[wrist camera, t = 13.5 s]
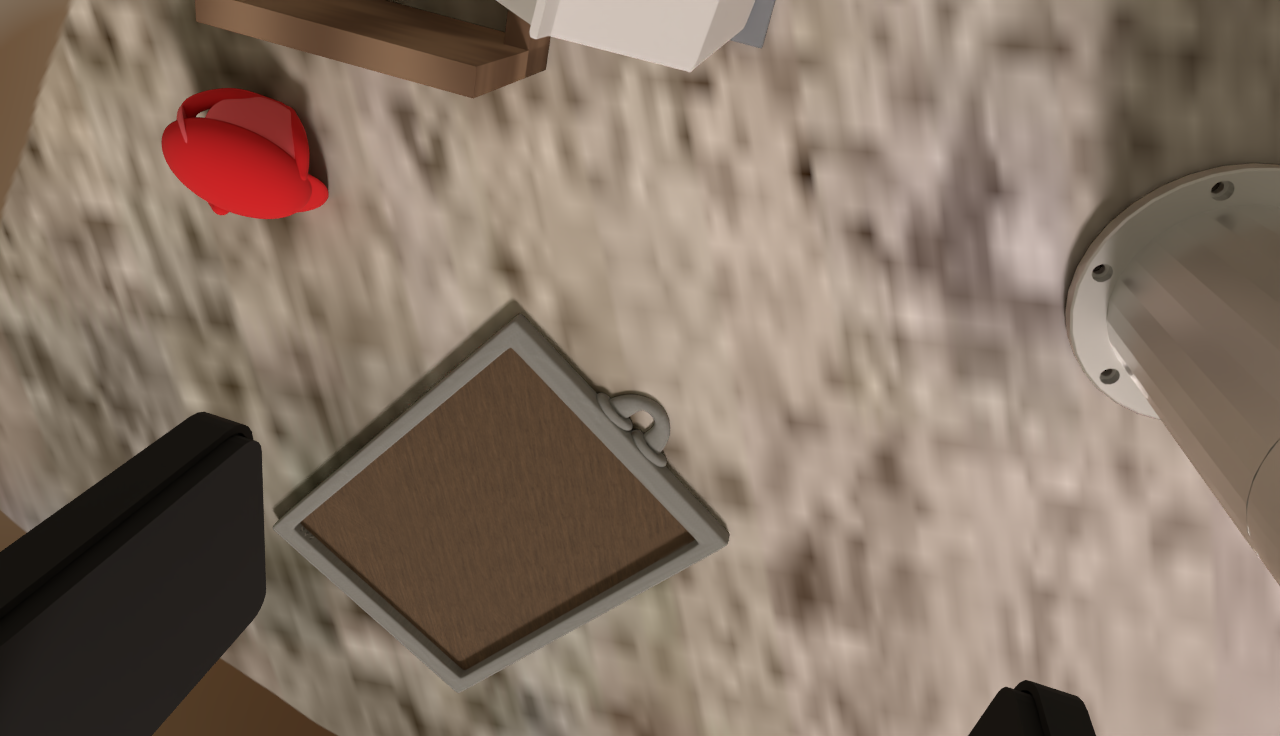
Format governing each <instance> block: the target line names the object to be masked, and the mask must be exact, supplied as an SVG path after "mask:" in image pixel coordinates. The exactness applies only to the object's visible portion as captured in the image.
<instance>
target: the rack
mask: <svg viewBox="0 0 1280 736" xmlns="http://www.w3.org/2000/svg"><path fill="white" fill-rule="evenodd" d="M195 9H196V22H200V23H203V24H207V25H211V26H214V27H218V28H222V29H225V30H229V31H232V32H236V33H240V34H243V35H247V36H250V37H254V38H258V39H261V40H265V41H268V42H272V43H276V44H279V45H283V46H286V47H290V48H294V49H297V50H301V51H304V52H308V53H312V54H315V55H319V56H322V57H326V58H330V59H333V60H337V61H340V62H344V63H348V64H351V65H355V66H358V67H362V68H366V69H369V70H373V71H376V72H380V73H384V74H387V75H391V76H395V77H398V78H402V79H405V80H409V81H413V82H416V83H420V84H423V85H427V86H431V87H434V88H438V89H441V90H445V91H449V92H452V93H456V94H459V95H463V96H467V97H470V98H475V97H478V96H480V95H483V94H486V93H488V92H491V91H493V90H496V89H498V88H501V87H503V86H506V85H508V84H511V83H513V82H516V81H518V80H521V79H524V78H526V77H529V76H531V75H534V74H536V73H539V72H541V71H544V70H546V64H547V57H548V50H549V44H550V37H551V36H546V37H543V38H539V39H534V38H531V37H530V32H529V31H530V27H531V25H530V24H529V23H527V22H526V21H525V20H523V19H522V18H520V17H519V16H517V15H516V14H515V13H513V12H512V11H510V10H509V9H508V13H507V21H506V29H505V32H502V31H498V30H494V29H491V28H487V27H483V26H480V25H476V24H472V23H468V22H465V21H461V20H457V19H454V18H450V17H446V16H442V15H439V14H435V13H431V12H428V11H424V10H420V9H416V8H413V7H409V6H405V5H402V4H398V3H394V2H390V1H387V0H195Z"/></svg>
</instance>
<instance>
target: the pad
mask: <svg viewBox="0 0 1280 736" xmlns="http://www.w3.org/2000/svg"><path fill="white" fill-rule="evenodd" d="M774 4H775V0H755V2H754V5H753V8H752V10H751V13H750V15H749V18H748V20H747V23H746V25H745V27H744V28H743V30H741V31H740V32H739V33H738V34H736V35H735V36H734V37H733V38H731V39H730V40H731V41H735V42H739V43H743V44H746V45H750V46H754V47H758V48H762V47H763V43H764V40H765V36H766V33H767V29H768V25H769V22H770V18H771V15H772V11H773V7H774Z"/></svg>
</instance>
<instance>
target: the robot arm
mask: <svg viewBox="0 0 1280 736" xmlns="http://www.w3.org/2000/svg"><path fill="white" fill-rule="evenodd" d="M1218 182H1220V185H1219V187H1218V188H1217V189H1216V190H1214V191H1211V189H1212V187H1213V186H1214V185H1215V184H1216V183H1218ZM1101 264H1103V265H1102V268H1101V269H1100V270H1098V271H1093V269H1094V268H1095V267H1096V266H1098V265H1101ZM1065 317H1066V328H1067V336H1068V339H1069V342H1070V345H1071V348H1072V351H1073V354H1074V356H1075V358H1076V359H1077V361H1078V363H1079V364H1080V366H1081V368H1082V370H1083V372H1084V373H1085V374H1086V376H1087V377H1088V378H1089V379H1090V381H1091V382H1092V383H1093V385H1094V386H1095V387H1096V388H1097V389H1098V390H1100V391H1101V392H1102V393H1104V394H1105V395H1106V396H1107V397H1109V398H1110V399H1111V400H1113V401H1114V402H1115V403H1117V404H1119V405H1121V406H1123V407H1125V408H1127V409H1129V410H1131V411H1133V412H1135V413H1137V414H1141V415H1144V416H1147V417H1151V418H1154V419H1158V420H1161V421H1162V422H1163V424H1164V425H1165V426H1166V428H1167V429H1168V431H1169V432H1170V433H1171V435H1172V436H1173V438H1174V439H1175V441H1176V442H1177V443H1178V445H1179V446H1180V448H1181V449H1182V450H1183V452H1184V453H1185V455H1186V456H1187V457H1188V459H1189V460H1190V462H1191V463H1192V464H1193V466H1194V467H1195V469H1196V470H1197V472H1198V473H1199V474H1200V476H1201V477H1202V479H1203V480H1204V481H1205V483H1206V484H1207V486H1208V487H1209V488H1210V490H1211V491H1212V493H1213V494H1214V495H1215V497H1216V498H1217V500H1218V501H1219V503H1220V504H1221V505H1222V507H1223V508H1224V510H1225V511H1226V512H1227V514H1228V515H1229V517H1230V518H1231V519H1232V521H1233V522H1234V524H1235V525H1236V526H1237V528H1238V529H1239V531H1240V532H1241V534H1242V535H1243V536H1244V538H1245V539H1246V541H1247V542H1248V543H1249V545H1250V546H1251V547H1252V549H1253V550H1254V552H1255V553H1256V554H1257V556H1258V557H1259V558H1260V559H1261V561H1262V562H1263V563H1264V565H1265V566H1266V568H1267V569H1268V570H1269V572H1270V573H1271V574H1272V576H1273V577H1274V579H1275V580H1276V581H1277V583H1278V584H1279V585H1280V165H1275V164H1260V163H1249V164H1239V165H1228V166H1220V167H1216V168H1212V169H1209V170H1205V171H1201V172H1197V173H1193V174H1189V175H1187V176H1185V177H1182V178H1180V179H1177V180H1175V181H1173V182H1170V183H1168V184H1166V185H1163V186H1161V187H1159V188H1157V189H1156V190H1154V191H1152V192H1151V193H1149V194H1147V195H1146V196H1144V197H1142V198H1141V199H1139V200H1138V201H1136V202H1134V203H1133V204H1131V205H1130V206H1129V207H1128V208H1127V209H1125V210H1124V211H1123V212H1122V213H1121V214H1119V215H1118V216H1117V217H1116V218H1115V219H1113V220H1112V221H1111V222H1110V223H1109V224H1108V225H1107V226H1106V227H1105V229H1104V230H1103V231H1102V232H1101V233H1100V234H1099V235H1098V237H1097V238H1096V239H1095V240H1094V241H1093V242H1092V244H1091V245H1090V246H1089V248H1088V250H1087V251H1086V253H1085V255H1084V256H1083V258H1082V260H1081V261H1080V263H1079V265H1078V266H1077V268H1076V271H1075V274H1074V277H1073V279H1072V282H1071V285H1070V288H1069V290H1068V297H1067V304H1066V311H1065ZM1106 369H1108V370H1107V371H1105V372H1103V371H1104V370H1106ZM265 595H266V573H265V541H264V509H263V478H262V450H261V445H260V444H259V442H257V441H254V440H253V436H252V431H251V430H250V428H249V427H248V426H246V425H243V424H240V423H237V422H234V421H231V420H228V419H225V418H222V417H219V416H216V415H213V414H210V413H206V412H199V413H196V414H194V415H192V416H190V417H189V418H187V419H186V420H185V421H183V422H182V423H180V424H179V425H178V426H176V427H175V428H173V429H172V430H171V431H169V432H168V433H166V434H165V435H164V436H162V437H161V438H159V439H158V440H157V441H155V442H154V443H152V444H151V445H150V446H148V447H147V448H145V449H144V450H143V451H141V452H140V453H138V454H137V455H136V456H134V457H133V458H131V459H130V460H129V461H127V462H126V463H124V464H123V465H122V466H120V467H119V468H117V469H116V470H115V471H113V472H112V473H110V474H109V475H108V476H106V477H105V478H103V479H102V480H101V481H99V482H98V483H96V484H95V485H94V486H92V487H91V488H89V489H88V490H87V491H85V492H84V493H82V494H81V495H80V496H78V497H77V498H75V499H74V500H73V501H71V502H70V503H68V504H67V505H66V506H64V507H63V508H61V509H60V510H58V511H57V512H56V513H54V514H53V515H51V516H50V517H49V518H47V519H46V520H44V521H43V522H42V523H40V524H39V525H37V526H36V527H35V528H33V529H32V530H30V531H29V532H28V533H26V534H25V535H23V536H22V537H21V538H19V539H18V540H17V541H15V542H14V543H12V544H11V545H9V546H8V547H7V548H5V549H4V550H2V551H1V552H0V736H152V735H153V734H154V732H155V731H156V730H157V729H158V728H159V727H160V726H161V724H162V723H163V722H164V721H165V720H166V719H167V717H168V716H169V715H170V714H171V713H172V712H173V711H174V710H175V708H176V707H177V706H178V705H179V704H180V703H181V701H182V700H183V699H184V698H185V697H186V696H187V695H188V694H189V692H190V691H191V690H192V689H193V688H194V686H196V684H197V683H198V682H199V681H200V680H201V679H202V678H203V676H204V675H205V674H206V673H207V671H209V670H210V668H211V667H212V666H213V665H214V664H215V663H216V662H217V660H218V659H219V658H220V657H221V656H222V655H223V654H224V653H225V651H226V650H227V649H228V648H229V647H230V646H231V645H232V643H233V642H234V641H235V640H236V639H237V638H238V637H239V635H240V634H241V633H242V632H243V631H244V630H245V629H246V627H247V626H248V625H249V624H250V623H251V622H252V621H253V619H254V618H255V617H256V615H257V614H258V612H259V610H260V608H261V606H262V604H263V602H264V598H265ZM968 736H1096V734H1095V732H1094V729H1093V726H1092V723H1091V720H1090V717H1089V714H1088V711H1087V709H1086V707H1085V705H1084V702H1083V701H1082V700H1081V699H1080V698H1079V697H1078V696H1075V695H1071V694H1068V693H1065V692H1062V691H1059V690H1056V689H1053V688H1050V687H1047V686H1044V685H1041V684H1038V683H1035V682H1032V681H1027V680H1025V681H1022V682H1020V683H1019V684H1018V685H1017V686H1016V687H1015V688H1014V689H1012V688H1008V687H1004V688H1002V689H1001V690H1000V691H999V692H998V693H997V695H996V696H995V698H994V699H993V701H992V702H991V703H990V705H989V706H988V708H987V709H986V711H985V712H984V714H983V715H982V716H981V718H980V719H979V721H978V722H977V724H976V725H975V727H974V728H973V729H972V731H971V732H970V734H969V735H968Z"/></svg>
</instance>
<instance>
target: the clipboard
mask: <svg viewBox="0 0 1280 736" xmlns="http://www.w3.org/2000/svg"><path fill="white" fill-rule="evenodd" d="M638 411H646V412H648V413H649V414H650V415H651V416H652V417H653V418H654V421H655V423H654V425H653V427H652V428H651V429H650V430H648V431H647V432H646V433H643V432H641V431H640V430H633V431H632V430H631V429H632V427H633V425H632V421H631V420H630V418H629V417H630V416H631V415H632V414H634V413H636V412H638ZM669 435H670V423H669V418H668V416H667V413H666V412H665V410H664V409H663V407H662V406H660V405H659V404H658V403H657V402H655V401H654V400H652V399H650V398H648V397H645V396H641V395H635V394H629V395H622V396H617V397H614V398H611V399H610V397H609V396H608V395H606V394H605V393H598V394H597V393H596V392H595V391H594V390H593V389H592V388H591V387H590V385H589V384H588V383H587V382H586V381H585V380H584V379H583V378H582V377H581V376H580V375H579V374H578V373H577V372H576V371H575V370H574V369H573V367H572V366H571V365H570V364H569V363H568V362H567V361H566V360H565V359H564V358H563V357H562V356H561V355H560V354H559V353H558V352H557V351H556V349H555V348H554V347H553V346H552V345H551V344H550V343H549V342H548V341H547V340H546V339H545V338H544V337H543V336H542V335H541V334H540V333H539V331H538V330H537V329H536V328H535V327H534V326H533V325H532V324H531V323H530V322H529V321H528V320H527V319H526V318H525V317H524V316H523V315H522V314H518V315H517V316H515V317H514V318H513V319H512V320H510V321H509V322H508V323H507V324H506V325H505V326H503V327H502V328H501V329H500V330H499V331H498V332H496V333H495V334H494V335H493V336H492V337H491V338H489V339H488V340H487V341H486V342H485V343H484V344H482V345H481V346H480V347H479V348H478V349H477V350H475V351H474V352H473V353H472V354H471V355H470V356H468V357H467V358H466V359H465V360H464V361H463V362H462V363H460V364H459V365H458V366H457V367H456V368H455V369H453V370H452V371H451V372H450V373H449V374H448V375H446V376H445V377H444V378H443V379H442V380H441V381H439V382H438V383H437V384H436V385H435V386H434V387H432V388H431V389H430V390H429V391H428V392H427V393H425V394H424V395H423V396H422V397H421V398H420V399H418V400H417V401H416V402H415V403H414V404H413V405H411V406H410V407H409V408H408V409H407V410H406V411H404V412H403V413H402V414H401V415H400V416H399V417H397V418H396V419H395V420H394V421H393V422H392V423H390V424H389V425H388V426H387V427H386V428H385V429H383V430H382V431H381V432H380V433H379V434H378V435H376V436H375V437H374V438H373V439H372V440H371V441H369V442H368V443H367V444H366V445H365V446H364V447H362V448H361V449H360V450H359V451H358V452H357V453H355V454H354V455H353V456H352V457H351V458H350V459H349V460H347V461H346V462H345V463H344V464H343V465H342V466H340V467H339V468H338V469H337V470H336V471H335V472H333V473H332V474H331V475H330V476H329V477H328V478H326V479H325V480H324V481H323V482H322V483H321V484H319V485H318V486H317V487H316V488H315V489H314V490H312V491H311V492H310V493H309V494H308V495H307V496H305V497H304V498H303V499H302V500H301V501H300V502H298V503H297V504H296V505H295V506H294V507H293V508H291V509H290V510H289V511H288V512H287V513H286V514H285V515H283V516H282V517H281V518H280V519H279V520H278V521H277V522H276V523H275V525H274V526H273V530H274V531H275V532H276V533H278V534H279V535H280V536H281V537H282V538H283V539H284V540H285V541H286V542H288V543H289V544H290V545H291V546H292V547H293V548H294V549H295V550H297V551H298V552H299V553H300V554H301V555H302V556H303V557H304V558H306V559H307V560H308V561H309V562H310V563H311V564H312V565H313V566H315V567H316V568H317V569H318V570H319V571H320V572H321V573H322V574H324V575H325V576H326V577H327V578H328V579H329V580H330V581H332V582H333V583H334V584H335V585H336V586H337V587H338V588H339V589H341V590H342V591H343V592H344V593H345V594H346V595H347V596H348V597H350V598H351V599H352V600H353V601H354V602H355V603H356V604H357V605H359V606H360V607H361V608H362V609H363V610H364V611H365V612H366V613H368V614H369V615H370V616H371V617H372V618H373V619H374V620H375V621H377V622H378V623H379V624H380V625H381V626H382V627H383V628H384V629H386V630H387V631H388V632H389V633H390V634H391V635H392V636H393V637H395V638H396V639H397V640H398V641H399V642H400V643H401V644H402V645H404V646H405V647H406V648H407V649H408V650H409V651H410V652H411V653H413V654H414V655H415V656H416V657H417V658H418V659H419V660H421V661H422V662H423V663H424V664H425V665H426V666H427V667H428V668H430V669H431V670H432V671H433V672H434V673H435V674H436V675H437V676H439V677H440V678H441V679H442V680H443V681H444V682H445V683H446V684H448V685H449V686H450V687H451V688H452V689H453V690H454V691H456V692H458V693H459V692H462V691H464V690H466V689H467V688H469V687H471V686H473V685H475V684H477V683H478V682H480V681H482V680H484V679H486V678H487V677H489V676H491V675H493V674H495V673H497V672H498V671H500V670H502V669H504V668H506V667H507V666H509V665H511V664H513V663H515V662H517V661H518V660H520V659H522V658H524V657H526V656H527V655H529V654H531V653H533V652H535V651H537V650H538V649H540V648H542V647H544V646H546V645H547V644H549V643H551V642H553V641H555V640H557V639H558V638H560V637H562V636H564V635H566V634H567V633H569V632H571V631H573V630H575V629H577V628H578V627H580V626H582V625H584V624H586V623H587V622H589V621H591V620H593V619H595V618H597V617H598V616H600V615H602V614H604V613H606V612H607V611H609V610H611V609H613V608H615V607H617V606H618V605H620V604H622V603H624V602H626V601H627V600H629V599H631V598H633V597H635V596H637V595H638V594H640V593H642V592H644V591H646V590H647V589H649V588H651V587H653V586H655V585H657V584H658V583H660V582H662V581H664V580H666V579H667V578H669V577H671V576H673V575H675V574H677V573H678V572H680V571H682V570H684V569H686V568H687V567H689V566H691V565H693V564H695V563H697V562H698V561H700V560H702V559H704V558H706V557H707V556H709V555H711V554H713V553H715V552H717V551H718V550H720V549H722V548H723V547H725V546H726V545H727V544H728V541H729V533H728V532H727V531H726V529H725V528H724V527H723V526H722V525H721V524H720V523H719V522H718V521H717V520H716V519H715V518H714V517H713V516H712V515H711V513H710V512H709V511H708V510H707V509H706V508H705V507H704V506H703V505H702V504H701V503H700V502H699V501H698V500H697V499H696V498H695V497H694V495H693V494H692V493H691V492H690V491H689V490H688V489H687V488H686V487H685V486H684V485H683V484H682V483H681V482H680V481H679V480H678V479H677V478H676V476H675V475H674V474H673V473H672V472H671V471H670V470H669V469H668V468H667V467H666V463H667V461H666V457H665V456H664V455H663V454H662V453H661V451H662V450H663V448H664V447H665V445H666V443H667V441H668V438H669Z"/></svg>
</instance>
